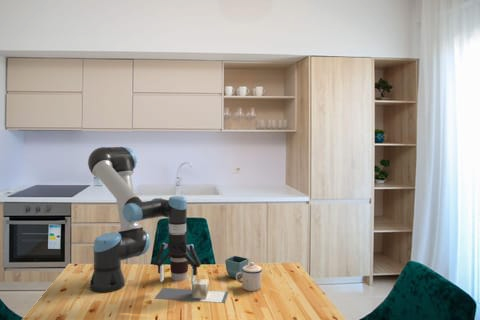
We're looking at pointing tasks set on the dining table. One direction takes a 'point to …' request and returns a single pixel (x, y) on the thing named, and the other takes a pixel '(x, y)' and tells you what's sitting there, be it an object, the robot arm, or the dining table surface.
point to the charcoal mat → (187, 295)
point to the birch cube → (200, 288)
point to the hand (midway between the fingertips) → (177, 281)
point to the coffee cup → (178, 267)
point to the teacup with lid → (251, 277)
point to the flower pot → (235, 265)
